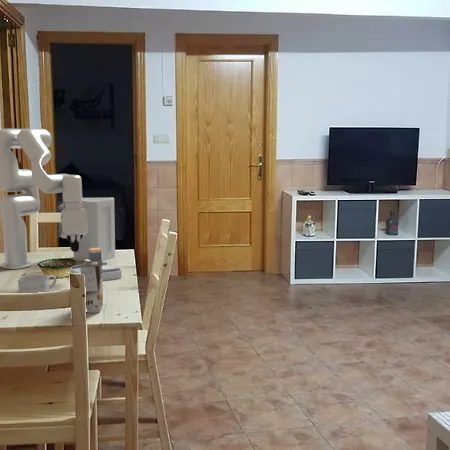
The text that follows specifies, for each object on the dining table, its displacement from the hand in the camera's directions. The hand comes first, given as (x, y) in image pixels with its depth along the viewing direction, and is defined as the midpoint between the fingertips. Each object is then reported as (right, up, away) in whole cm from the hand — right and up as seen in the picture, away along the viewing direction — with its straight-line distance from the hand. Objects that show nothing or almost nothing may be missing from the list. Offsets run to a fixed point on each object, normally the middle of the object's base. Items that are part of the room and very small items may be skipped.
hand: (74, 251), depth 254 cm
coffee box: (+15, -18, -38) cm, 45 cm away
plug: (+4, -9, +20) cm, 22 cm away
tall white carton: (0, -6, +41) cm, 41 cm away
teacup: (-7, -16, -25) cm, 31 cm away
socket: (+7, -11, +7) cm, 15 cm away
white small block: (+7, -8, +7) cm, 12 cm away
